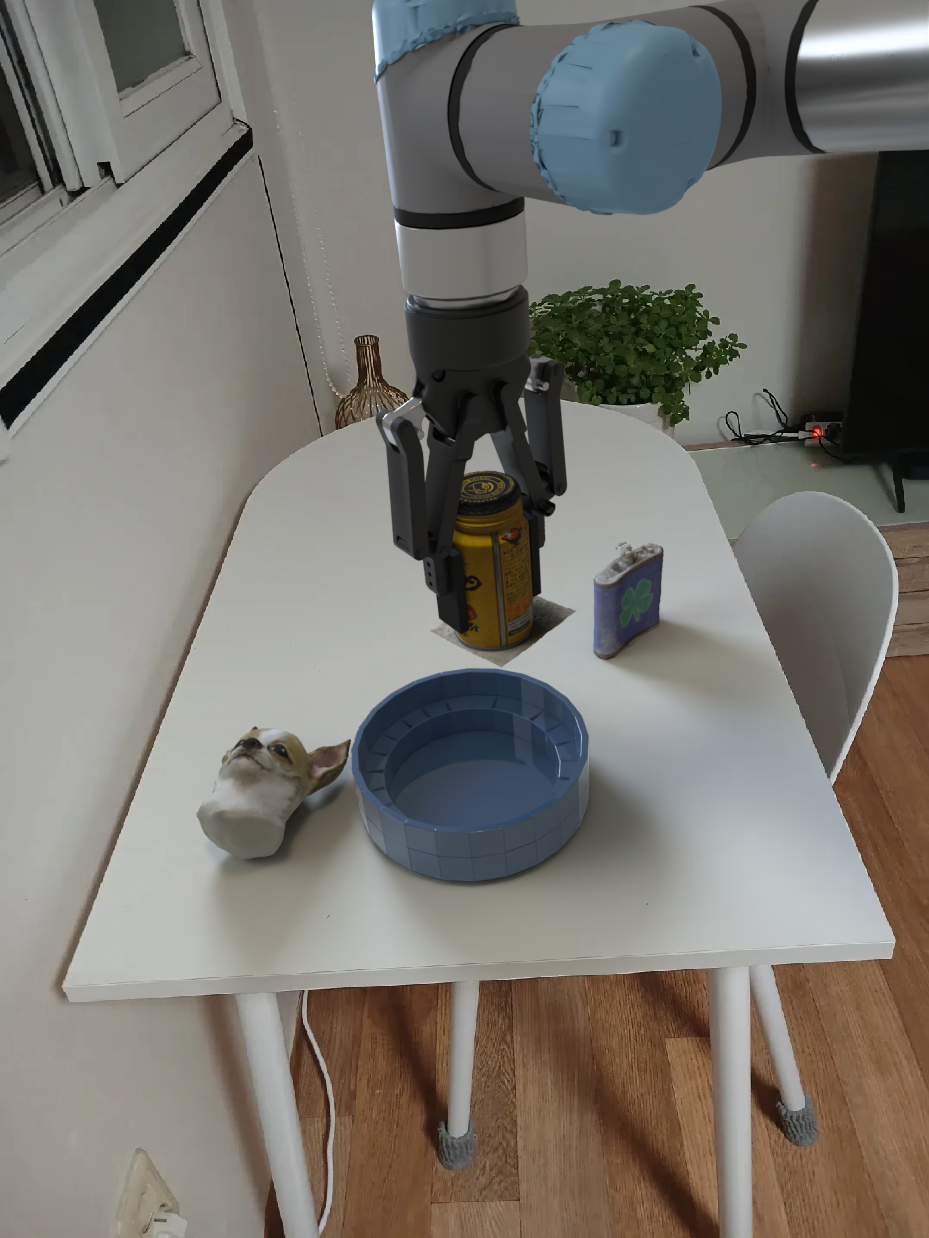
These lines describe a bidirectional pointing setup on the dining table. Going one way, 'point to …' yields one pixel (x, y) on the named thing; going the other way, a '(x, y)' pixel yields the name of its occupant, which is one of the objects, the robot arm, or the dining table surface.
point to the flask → (627, 598)
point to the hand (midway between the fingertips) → (490, 605)
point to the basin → (472, 773)
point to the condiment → (498, 572)
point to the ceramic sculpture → (265, 789)
